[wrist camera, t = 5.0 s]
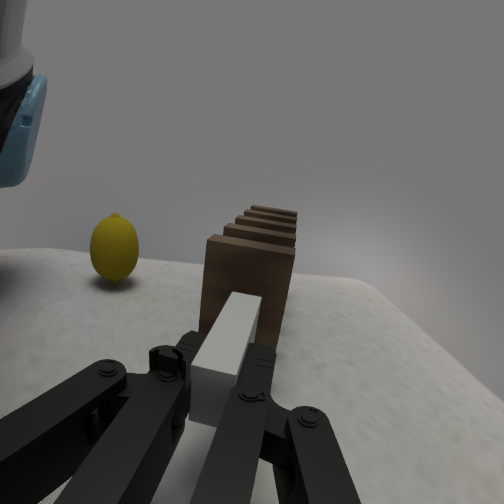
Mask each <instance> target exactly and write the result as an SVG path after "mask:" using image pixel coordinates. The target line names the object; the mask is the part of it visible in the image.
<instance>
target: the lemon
mask: <svg viewBox="0 0 504 504" xmlns="http://www.w3.org/2000/svg"><path fill="white" fill-rule="evenodd" d="M138 246H139V245H138V238H137V234H136V231H135V229H134V227H133V225H132V224H131V223H130V222H129V221H128V220H126V219H124V218H122V217H120V215H119V214H118V213H113V214H112V215H111V216H110V217H107V218H105V219H103V220H102V221H101V222H99V223H98V225H97V226H96V227H95V229H94V231H93V234H92V237H91V243H90V256H91V261H92V265H93V267H94V269H95V270H96V271H97V273H98V274H99V275H100V276H102V277H104V278H106V279H108V280H109V281H110V282H111V283H112V284H116V283H117V282H118V281H119V280H120V279H123V278H125V277H127V276H128V275H129V274H130V273H131V272H132V271H133V269H134V268H135V266H136V263H137V260H138V254H139V247H138Z"/></svg>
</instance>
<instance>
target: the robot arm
mask: <svg viewBox="0 0 504 504" xmlns="http://www.w3.org/2000/svg"><path fill="white" fill-rule="evenodd" d="M27 1H28V0H0V188H4V187H14V186H16V185H19V184H20V183H21V182H22V181H23V180H24V179H25V178H26V176H27V174H28V171H29V168H30V164H31V161H32V157H33V152H34V147H35V143H36V139H37V134H38V130H39V125H40V121H41V116H42V112H43V106H44V102H45V97H46V91H47V78H46V77H44V76H41V75H40V74H36V75H35V76H33V62H34V58H33V57H34V56H33V54H32V53H31V52H30V51H29V50H28V49H27V48H26V47H25V46H23V45H22V43H21V37H22V30H23V23H24V17H25V12H26V6H27ZM261 299H262V297H258V296H253V295H248V294H243V293H237V292H232V293H231V295H230V297H229V298H228V300H227V302H226V304H225V305H224V307H223V309H222V311H221V313H220V314H219V316H218V318H217V320H216V321H215V323H214V325H213V327H212V328H211V330H210V332H209V334H204V333H200V332H195V331H190V332H188V333H186V334H185V335H183V336H182V338H181V339H180V340H179V343H177V345H176V346H168V345H164V346H157V347H154V348H153V349H151V350H150V351H149V366H150V370H149V372H148V373H147V374H135V373H126V369H125V366H124V365H123V364H122V363H120V362H118V361H116V360H110V359H105V360H99V361H97V362H95V363H93V364H91V365H90V366H88V367H86V368H85V369H83V370H82V371H80V372H78V373H77V374H75V375H73V376H72V377H70V378H68V379H67V380H65V381H63V382H62V383H60V384H58V385H57V386H55V387H53V388H52V389H50V390H48V391H47V392H45V393H43V394H42V395H40V396H38V397H37V398H35V399H33V400H32V401H30V402H28V403H27V404H25V405H23V406H22V407H20V408H18V409H17V410H15V411H13V412H12V413H10V414H8V415H7V416H5V417H3V418H2V419H0V504H38V503H39V502H40V501H41V500H43V499H44V498H45V497H47V496H48V495H49V494H50V493H52V492H53V491H54V490H56V489H57V488H58V487H59V486H61V485H62V484H63V483H64V482H66V481H67V480H68V479H69V478H71V477H72V476H73V477H72V478H71V479H70V481H69V482H68V484H67V485H66V487H65V488H64V489H63V491H62V492H61V494H60V495H59V496H58V498H57V499H56V501H55V502H54V503H53V504H150V502H151V500H152V498H153V496H154V494H155V492H156V489H157V487H158V485H159V483H160V481H161V479H162V477H163V474H164V472H165V470H166V468H167V466H168V464H169V462H170V459H171V457H172V455H173V453H174V451H175V449H176V447H177V444H178V442H179V440H180V438H181V436H182V434H183V431H184V428H185V419H186V417H187V415H188V412H189V420H190V421H194V422H197V423H201V424H205V425H209V426H213V427H217V430H216V433H215V436H214V438H213V441H212V444H211V447H210V450H209V452H208V455H207V458H206V461H205V463H204V466H203V469H202V472H201V474H200V477H199V480H198V482H197V485H196V488H195V491H194V493H193V496H192V499H191V501H190V504H250V499H251V495H252V490H253V485H254V480H255V475H256V470H257V465H258V460H259V458H261V459H263V460H265V461H267V462H269V463H272V464H273V472H274V478H275V483H276V489H277V494H278V500H279V504H361V502H360V499H359V497H358V494H357V491H356V489H355V486H354V483H353V481H352V478H351V476H350V473H349V470H348V468H347V465H346V463H345V460H344V458H343V455H342V452H341V450H340V447H339V445H338V442H337V439H336V437H335V434H334V432H333V429H332V427H331V424H330V422H329V419H328V417H327V416H326V414H325V413H323V412H322V411H321V410H319V409H317V408H314V407H310V406H301V407H296V408H295V409H293V410H291V411H290V410H287V409H285V408H283V407H281V406H279V405H278V404H276V403H275V402H274V401H273V399H272V397H271V395H270V390H271V384H272V378H273V372H274V366H275V359H276V353H275V351H274V349H273V347H270V346H265V345H260V344H254V339H255V334H256V328H257V322H258V316H259V310H260V304H261Z"/></svg>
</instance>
